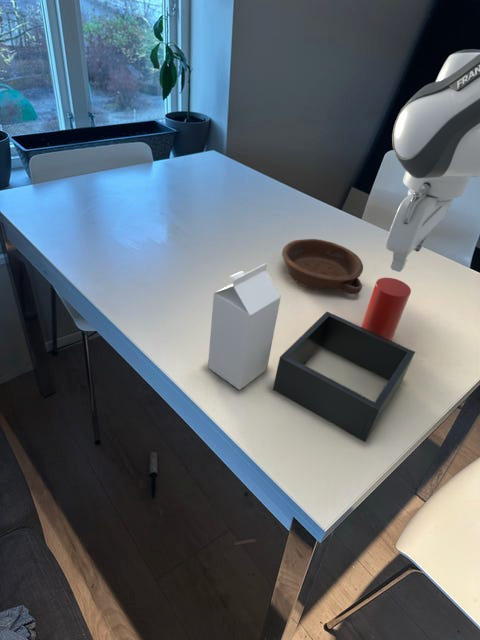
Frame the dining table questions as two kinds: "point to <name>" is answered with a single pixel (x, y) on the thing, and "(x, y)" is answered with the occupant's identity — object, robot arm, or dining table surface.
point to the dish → (323, 265)
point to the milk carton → (243, 326)
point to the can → (386, 307)
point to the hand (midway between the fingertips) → (406, 258)
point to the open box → (328, 394)
